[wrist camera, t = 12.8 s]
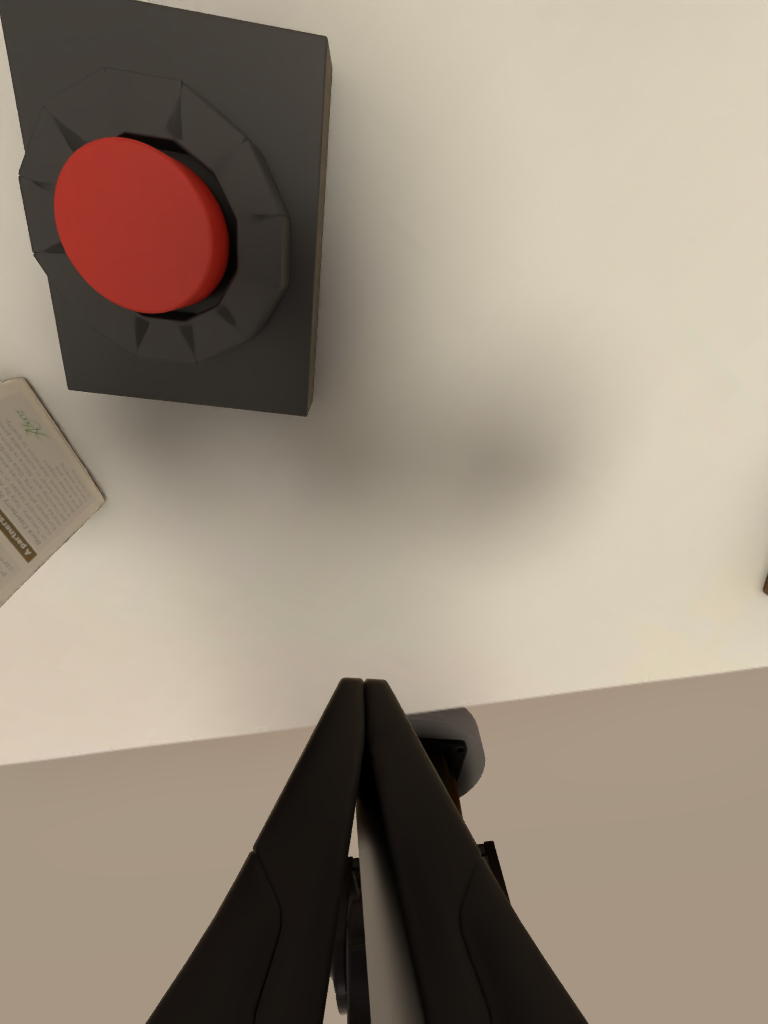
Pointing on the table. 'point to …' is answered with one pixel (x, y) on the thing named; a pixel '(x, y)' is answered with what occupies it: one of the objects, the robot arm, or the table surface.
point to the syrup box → (36, 487)
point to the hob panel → (766, 588)
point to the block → (214, 158)
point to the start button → (140, 226)
